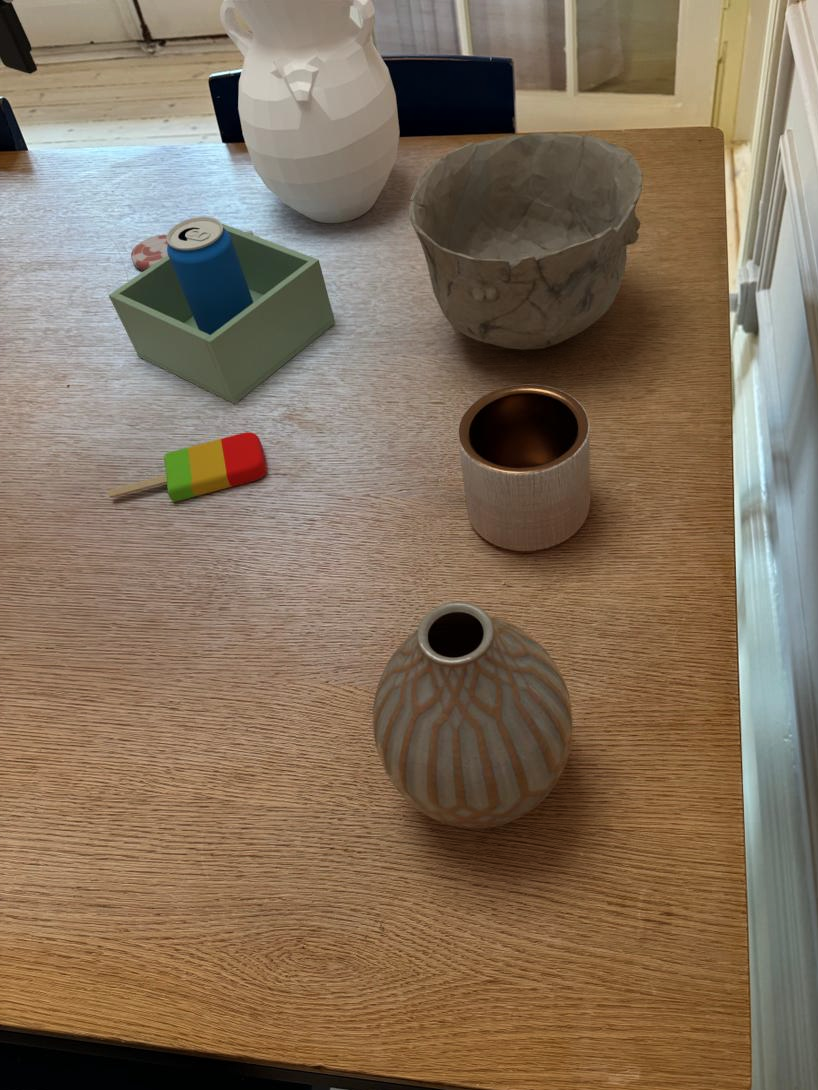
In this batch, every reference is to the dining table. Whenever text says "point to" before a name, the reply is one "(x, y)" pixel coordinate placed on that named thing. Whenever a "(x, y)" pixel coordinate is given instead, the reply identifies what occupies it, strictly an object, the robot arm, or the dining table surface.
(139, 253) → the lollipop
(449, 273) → the bowl
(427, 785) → the vase
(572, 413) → the planter
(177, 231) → the beverage can
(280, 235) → the dining table surface
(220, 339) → the bin
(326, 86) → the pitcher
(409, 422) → the dining table surface
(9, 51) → the robot arm
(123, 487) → the popsicle
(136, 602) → the dining table surface
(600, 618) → the dining table surface
